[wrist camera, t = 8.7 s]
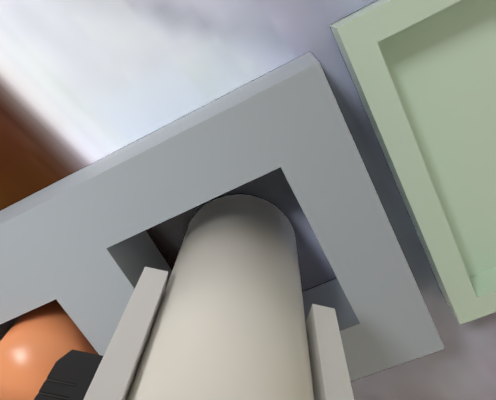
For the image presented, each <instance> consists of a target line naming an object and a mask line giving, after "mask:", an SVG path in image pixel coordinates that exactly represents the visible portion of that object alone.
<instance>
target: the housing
mask: <svg viewBox="0 0 496 400" xmlns="http://www.w3.org/2000/svg"><path fill="white" fill-rule="evenodd" d="M280 167H281V169H282V171H283V173H284V175H285V177H286V179H287V181H288V183H289V185H290V187H291V189H292V191H293V193H294V195H295V197H296V199H297V201H298V203H299V205H300V206H301V208H302V210H303V212H304V214H305V216H306V218H307V220H308V222H309V224H310V226H311V228H312V230H313V232H314V234H315V236H316V238H317V240H318V242H319V244H320V246H321V248H322V250H323V252H324V254H325V256H326V257H327V259H328V261H329V263H330V265H331V267H332V269H333V271H334V273H335V275H336V277H337V278H336V279H334V280H331V281H329V282H326V283H324V284H321V285H319V286H316V287H314V288H311V289H309V290H306V291H304V292H302V297H303V305H304V314H305V323H306V320H307V317H308V314H309V312H310V309H311V306H312V304H316V305H321V306H325V307H330V308H334V309H335V312H336V317H337V321H338V326H339V331H340V335H341V340H342V345H343V349H344V354H345V359H346V363H347V368H348V372H349V377H350V382H351V381H354V380H357V379H360V378H363V377H366V376H369V375H371V374H374V373H377V372H380V371H383V370H386V369H389V368H392V367H394V366H397V365H400V364H403V363H406V362H409V361H412V360H415V359H417V358H420V357H423V356H426V355H429V354H432V353H435V352H438V351H440V350H443V349H445V347H444V345H443V342H442V340H441V338H440V336H439V333H438V331H437V329H436V327H435V324H434V322H433V320H432V317H431V315H430V313H429V311H428V308H427V306H426V304H425V302H424V299H423V297H422V295H421V292H420V290H419V288H418V286H417V283H416V281H415V279H414V276H413V274H412V272H411V270H410V267H409V265H408V263H407V261H406V258H405V256H404V254H403V251H402V249H401V247H400V245H399V242H398V240H397V238H396V236H395V233H394V231H393V229H392V226H391V224H390V222H389V220H388V217H387V215H386V213H385V211H384V208H383V206H382V204H381V201H380V199H379V197H378V195H377V192H376V190H375V188H374V185H373V183H372V181H371V179H370V176H369V174H368V172H367V170H366V167H365V165H364V163H363V160H362V158H361V156H360V154H359V151H358V149H357V147H356V145H355V142H354V140H353V138H352V135H351V133H350V131H349V129H348V126H347V124H346V122H345V120H344V117H343V115H342V113H341V110H340V108H339V106H338V104H337V101H336V99H335V97H334V95H333V92H332V90H331V88H330V85H329V83H328V81H327V79H326V76H325V74H324V72H323V69H322V67H321V65H320V63H319V61H318V60H317V59H316V58H315V57H314V55H313V54H312V53H311V52H310V51H309V52H307V53H306V54H304V55H302V56H300V57H298V58H296V59H294V60H292V61H290V62H288V63H286V64H284V65H282V66H280V67H278V68H276V69H275V70H273V71H271V72H269V73H267V74H265V75H263V76H261V77H259V78H257V79H255V80H253V81H251V82H249V83H247V84H245V85H244V86H242V87H240V88H238V89H236V90H234V91H232V92H230V93H228V94H226V95H224V96H222V97H220V98H218V99H216V100H214V101H212V102H211V103H209V104H207V105H205V106H203V107H201V108H199V109H197V110H195V111H193V112H191V113H189V114H187V115H185V116H183V117H181V118H180V119H178V120H176V121H174V122H172V123H170V124H168V125H166V126H164V127H162V128H160V129H158V130H156V131H154V132H152V133H150V134H149V135H147V136H145V137H143V138H141V139H139V140H137V141H135V142H133V143H131V144H129V145H127V146H125V147H123V148H121V149H119V150H117V151H116V152H114V153H112V154H110V155H108V156H106V157H104V158H102V159H100V160H98V161H96V162H94V163H92V164H90V165H88V166H86V167H85V168H83V169H81V170H79V171H77V172H75V173H73V174H71V175H69V176H67V177H65V178H63V179H61V180H59V181H57V182H55V183H54V184H52V185H50V186H48V187H46V188H44V189H42V190H40V191H38V192H36V193H34V194H32V195H30V196H28V197H26V198H24V199H23V200H21V201H19V202H17V203H15V204H13V205H11V206H9V207H7V208H5V209H3V210H1V211H0V341H1V340H2V338H3V337H4V336H5V335H6V333H7V332H8V331H9V330H10V328H11V327H12V326H13V324H14V323H15V322H16V321H17V319H18V318H19V317H20V315H22V314H25V313H27V312H29V311H31V310H33V309H36V308H38V307H40V306H42V305H44V304H47V303H49V302H51V301H53V300H57V301H58V302H59V304H60V305H61V306H62V308H63V309H64V310H65V311H66V313H67V314H68V315H69V317H70V318H71V319H72V320H73V322H74V323H75V324H76V326H77V327H78V328H79V329H80V331H81V332H82V333H83V335H84V336H85V337H86V338H87V340H88V341H89V342H90V344H91V345H92V346H93V347H94V349H95V350H96V351H97V352H98V354H99V355H101V356H104V354H105V352H106V350H107V347H108V345H109V343H110V341H111V339H112V337H113V335H114V332H115V330H116V328H117V326H118V324H119V322H120V319H121V317H122V315H123V313H124V311H125V309H126V307H127V304H128V302H129V300H130V298H131V296H132V294H133V291H134V289H135V287H136V285H137V283H138V281H139V278H140V276H141V274H142V272H143V270H144V268H145V267H150V268H154V269H159V270H163V271H168V276H167V281H166V287H167V284H168V281H169V278H170V276H171V273H172V270H171V268H170V267H169V265H168V264H167V262H166V260H165V259H164V257H163V256H162V254H161V253H160V251H159V250H158V248H157V247H156V245H155V244H154V242H153V241H152V239H151V238H150V236H149V234H148V233H147V231H146V230H147V229H149V228H151V227H153V226H156V225H158V224H160V223H162V222H164V221H166V220H168V219H171V218H173V217H175V216H177V215H179V214H181V213H183V212H186V211H188V210H190V209H192V208H194V207H196V206H198V205H201V204H203V203H205V202H207V201H209V200H211V199H213V198H216V197H218V196H220V195H222V194H224V193H226V192H229V191H231V190H233V189H235V188H237V187H239V186H241V185H244V184H246V183H248V182H250V181H252V180H254V179H256V178H259V177H261V176H263V175H265V174H267V173H269V172H271V171H274V170H276V169H278V168H280ZM166 287H165V290H166ZM164 293H165V292H164Z"/></svg>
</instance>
